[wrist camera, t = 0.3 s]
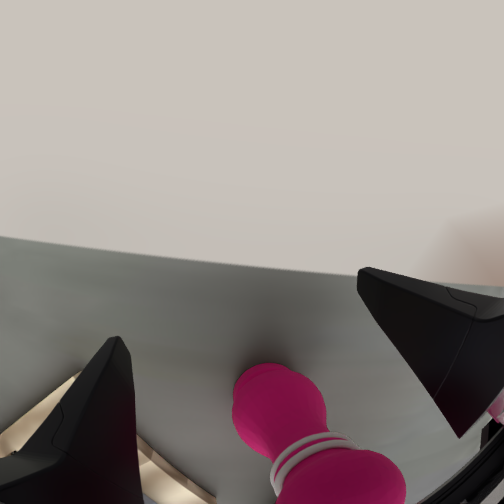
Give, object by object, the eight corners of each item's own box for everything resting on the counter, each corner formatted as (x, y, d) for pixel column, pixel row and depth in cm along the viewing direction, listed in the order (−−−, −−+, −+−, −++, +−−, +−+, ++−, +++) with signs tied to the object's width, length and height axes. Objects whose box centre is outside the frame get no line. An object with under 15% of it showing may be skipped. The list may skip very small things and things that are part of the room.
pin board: (215, 498, 21) (217, 509, 19) (95, 537, 16) (92, 544, 14) (81, 370, 20) (73, 376, 18) (-7, 440, 16) (-14, 445, 14)
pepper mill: (212, 380, 22) (246, 581, 3) (283, 342, 24) (462, 453, 4) (250, 436, 22) (324, 603, 3) (314, 400, 24) (459, 520, 4)
